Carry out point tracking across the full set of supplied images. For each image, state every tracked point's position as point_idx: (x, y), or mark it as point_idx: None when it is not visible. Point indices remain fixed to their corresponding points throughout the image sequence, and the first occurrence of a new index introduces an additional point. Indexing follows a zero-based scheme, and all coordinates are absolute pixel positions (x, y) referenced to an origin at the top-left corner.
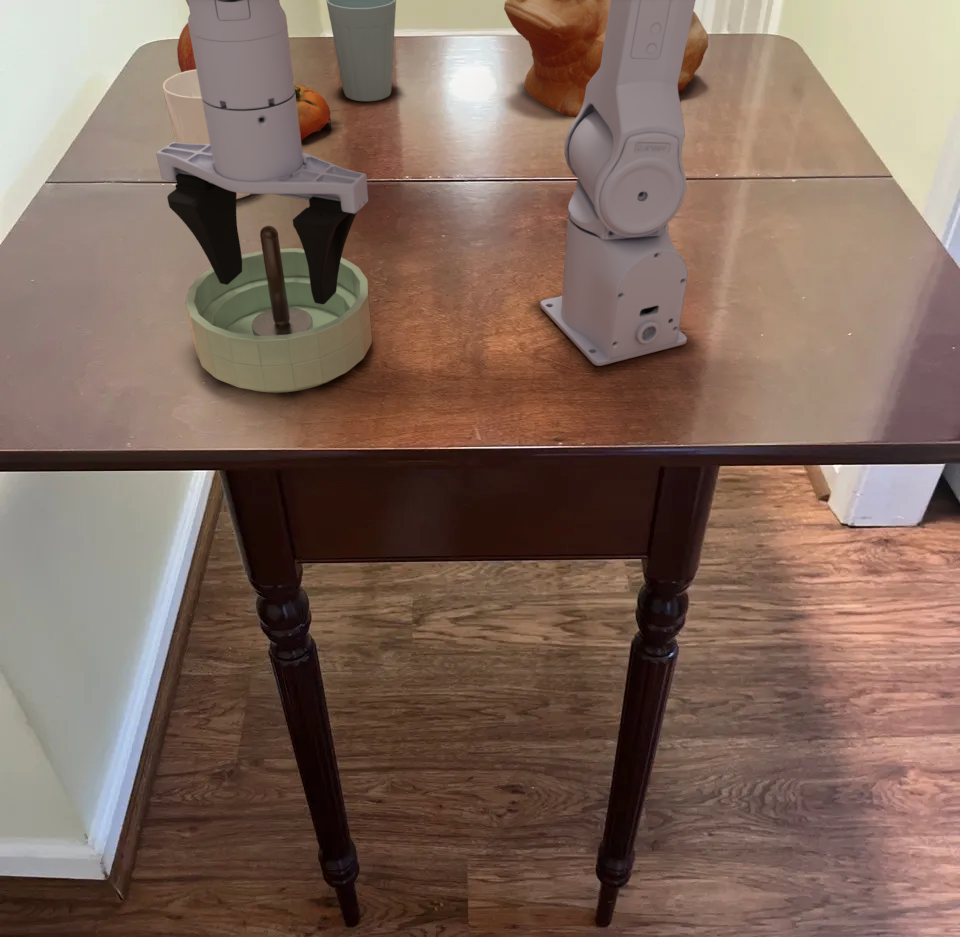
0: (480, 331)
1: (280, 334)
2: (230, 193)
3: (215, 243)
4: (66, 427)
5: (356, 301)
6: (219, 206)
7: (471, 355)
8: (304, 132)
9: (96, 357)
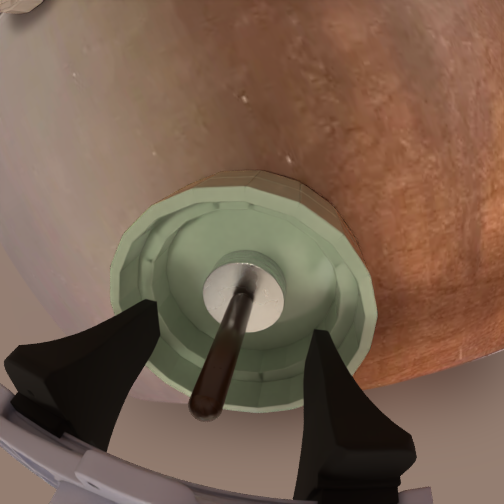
0: (477, 191)
1: (253, 325)
2: (79, 380)
3: (128, 384)
4: (140, 385)
5: (363, 335)
6: (96, 402)
7: (469, 244)
8: None
9: (92, 313)
